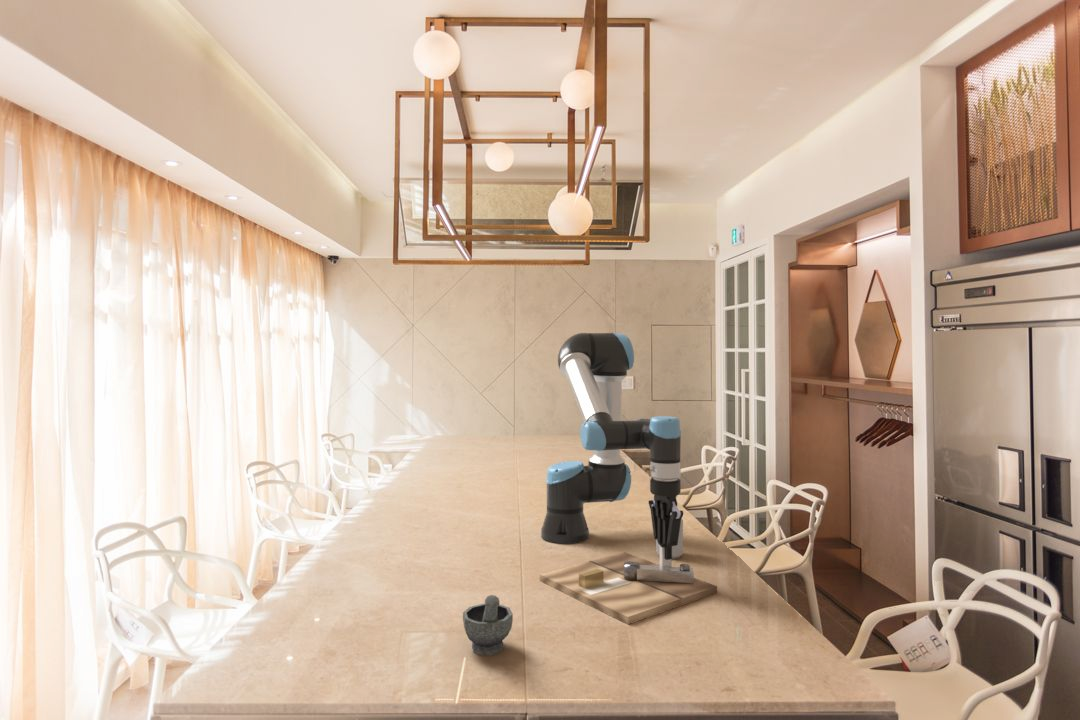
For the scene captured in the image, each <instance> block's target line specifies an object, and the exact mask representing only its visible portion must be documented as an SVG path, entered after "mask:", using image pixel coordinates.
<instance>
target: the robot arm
mask: <svg viewBox="0 0 1080 720" xmlns="http://www.w3.org/2000/svg"><path fill="white" fill-rule="evenodd" d="M634 363H635V352H634V347H633V344H632V341H631V340H630V338H629V337H628V336H627V335H626V334H624V333H617V332H595V333H593V332H579V333H575V334H573V335H571V336H570V337H568V338H567V339H566V340H565V341H564V342H563V344H562V345H561V347H560V349H559V351H558V354H557V365H558V368H559V371H560V373H561V374H562V376H563V377H564V378H566V379H567V382H568V385H569V387H570V390H571V392H572V396H573V398H574V400H575V403H576V405H577V408H578V410H579V413H580V416H581V418H582V420H583V423H582V424H581V426H580V433H579V436H580V442H581V446H582V448H584V449H585V450H586V451H592V452H593V454H592V455H591V456H590V457H588V464H587V465H584V462H582V461H580V460H573V461H572V460H567V461H561V462H557V463H553V464H552V465H550V466H549V467H548V469H547V471H546V480H545V483H546V513H545V517H544V521H543V525H542V527H541V530H540V531H541V532H540V535H541V536H540V537H541V538H542V539H543V541H546V542H549V543H555V544H577V543H582V542H584V541H587V540H588V539H589V537H590V531H589V530H590V529H589V527H588V523H587V520H586V516H585V514H584V504H587V503H604V502H606V503H607V502H609V503H612V502H619V501H622V500H625V498H627V496H628V495H629V492H630V490H631V486H632V475H631V468H630V467H629V465H627V464H626V463H625V462H626V460H625V459H624V457H623V456H622V455H621V450H641V449H642V450H643V449H644V450H649V454H650V455H649V456H650V457H649V462H650V465H649V469H650V470H649V471H650V477H651V478H650V480H649V490H650V493H651V494H652V495H653V499H651V500H648V505H649V509H650V517H651V524H652V525H651V526H652V532H653V539H654V540H656V539H657V540H658V544H659V554H658V556H659V564H658V565H659V566H667V567H673V565H672V562H673V561H672V560H673V559H672V546H677V544H678V537H679V531H680V524H681V519H682V518H683V516H684V511H683V510H679V508H678V501H677V498H678V496H679V495H680V494H681V493H682V492H681V480H680V478H681V476H682V473H681V471H682V470H681V462H682V461H681V443H682V442H681V438H682V437H681V436H682V430H681V421H680V419H679V418H678V417H676V416H670V415H656V416H652V417H651V418H638V419H636V420H622V386H623V380H625V378H626V377H627V375H628V371H630V370H631V369H633V367H634ZM682 520H683V519H682Z"/></svg>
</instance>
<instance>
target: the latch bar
mask: <svg viewBox="0 0 1080 720" xmlns="http://www.w3.org/2000/svg"><path fill="white" fill-rule="evenodd" d="M694 572H695V571H694V568H693V567H691V565H690V564H688V563H681V564H679V566H672V567H667V566H650V565H640V564H639V563H638V562H633V561H629V562H625V563H624V579H626V580H629V581H637V580H645V581H661V582H677V583H693V584H694V578H695V577H694V576H695V573H694Z"/></svg>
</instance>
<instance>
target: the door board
mask: <svg viewBox="0 0 1080 720" xmlns="http://www.w3.org/2000/svg"><path fill="white" fill-rule="evenodd" d="M629 561H633V562H638V563H639V564H640V565H650V566H659V564H658V563H655V562H652V561H649V560H647V559H644V558H641V557H639V556H636V555H633V554H631V553H629V552H625V551H624V552H621V553H617V554H614V555H613V554H612V555H610V556H609V555H608V556H605V557H601V558H597V559H594V560H589V561H586V562H582V563H578V564H574V565H571V566H567V567H563V568H559V569H555V570H551V571H548V572H543V573H539V581H540V582H542V583H543V584H546V585H548V586H550V587H551V588H554V589H556V590H558V591H559V592H561V593H564V594H566V595H567V596H570V597H572V598H574V599H576V600H578V601H579V602H582V603H584V604H586V605H588V606H590V607H592V608H593V609H596V610H598V611H600V612H602V613H604V614H606V615H608V616H610V617H612V618H614V619H616V620H618V621H620V622H621V623H624V624H626V625H630V623H631V624H633V623H636V622H639V621H642V620H644V618H645V619H647V618H649V617H653V616H656V615H659V614H661V612H662V613H665V612H667V611H669V609H670V610H673V609H676V608H678V607H681V606H683V605H686V604H689V603H692V602H696V601H698V600H702V599H704V598H706V597H709V596H712V595H714V594H718V586H717V585H715V584H713V583H711V582H707V581H704V580H701V579H698V578H696V577H694V584H693V583H677V582H661V581H645V580H637V581H629V580H626V579H624V563H625V562H629ZM672 608H673V609H672ZM666 610H667V611H666ZM658 613H659V614H658ZM638 620H639V621H638Z"/></svg>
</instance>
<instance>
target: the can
mask: <svg viewBox="0 0 1080 720" xmlns="http://www.w3.org/2000/svg"><path fill="white" fill-rule="evenodd" d="M655 544H656V545H655V546H656V548H655V549H656V550H655V551H656V554H658V555H659V544H658V540H657V539H656V542H655ZM683 553H684V521H683V519H681V524H680V531H679V537H678V544H677V546H672V560H673V559H675V560H676V559H679V558H680V557H681V556H682V555H683Z"/></svg>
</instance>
